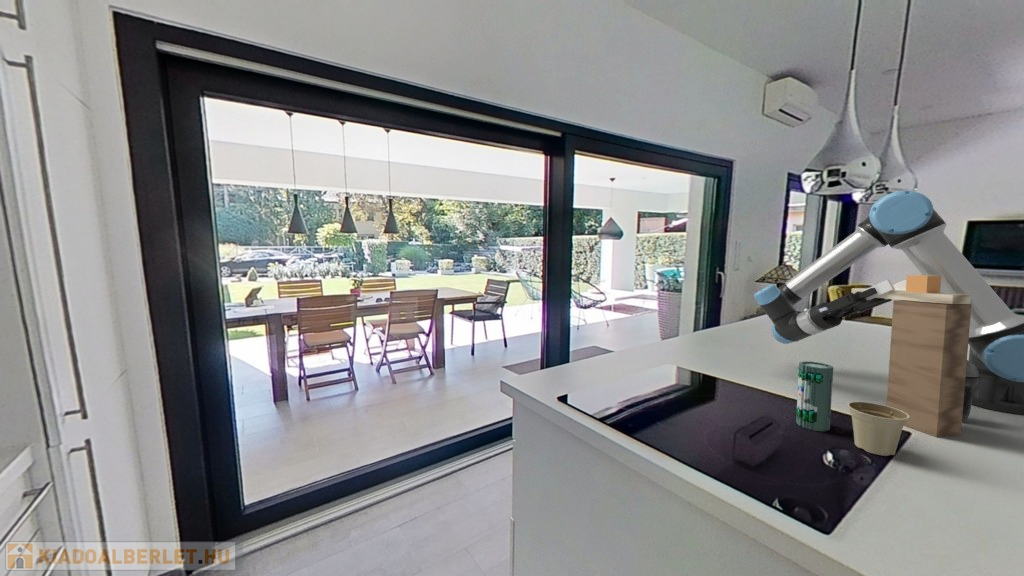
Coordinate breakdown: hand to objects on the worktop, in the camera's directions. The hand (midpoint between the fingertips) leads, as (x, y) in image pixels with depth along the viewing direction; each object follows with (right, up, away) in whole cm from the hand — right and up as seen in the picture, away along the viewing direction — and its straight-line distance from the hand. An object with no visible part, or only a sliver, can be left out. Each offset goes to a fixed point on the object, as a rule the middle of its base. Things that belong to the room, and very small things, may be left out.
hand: (900, 284), depth 94 cm
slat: (0, -4, -1) cm, 4 cm away
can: (-24, -34, -3) cm, 42 cm away
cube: (+1, -2, -4) cm, 5 cm away
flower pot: (-20, -35, -14) cm, 43 cm away
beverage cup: (+14, -34, 0) cm, 37 cm away
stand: (+1, -34, -4) cm, 34 cm away
